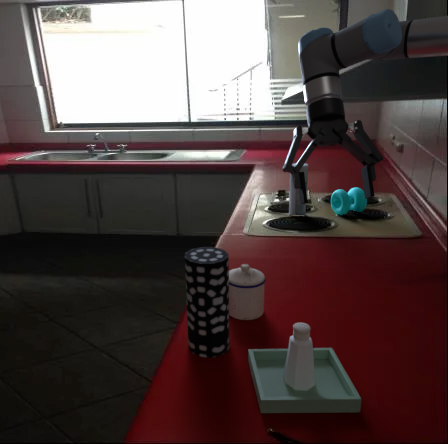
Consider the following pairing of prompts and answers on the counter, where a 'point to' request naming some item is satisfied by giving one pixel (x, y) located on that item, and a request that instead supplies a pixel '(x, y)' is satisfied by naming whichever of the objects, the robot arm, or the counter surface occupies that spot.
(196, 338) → the white-spotted black cylinder
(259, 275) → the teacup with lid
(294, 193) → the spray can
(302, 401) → the tray
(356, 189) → the turquoise dumbbell
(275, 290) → the counter surface
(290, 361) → the salt shaker
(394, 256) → the counter surface
